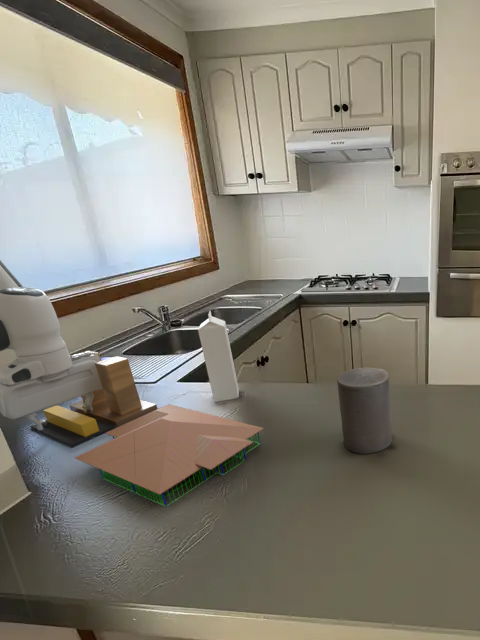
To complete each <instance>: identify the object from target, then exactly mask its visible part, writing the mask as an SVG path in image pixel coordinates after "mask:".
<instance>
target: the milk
mask: <svg viewBox="0 0 480 640" xmlns="http://www.w3.org/2000/svg"><path fill="white" fill-rule="evenodd" d="M207 316H208V318H207V319H206V320H204V321H203V322H201V323H200V324H199V326H198V329H197V332H198V337H199V340H200V345H201V348H202V349H201V350H202V354H203V358H204V359H203V360H204V363H205V368H206V372H207V376H208V381H209V386H210V389H211V394H212V398H213V402H214V403H219V402H223V401H229V400H236V399H239V397H240V396H239V395H240V388H239V383H238V379H237V374H236V367H235V365H234V364H235V362H234V359H233V354H232V349H231V348H232V347H231V343H230V339H229V333H228V328H227V323H226V320H224V319H221V318H218V317H215V316H212V312H211V310H209V312H208V314H207Z"/></svg>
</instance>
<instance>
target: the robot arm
mask: <svg viewBox="0 0 480 640" xmlns="http://www.w3.org/2000/svg"><path fill="white" fill-rule="evenodd" d="M6 350H13V351H14V353H15V356H16V358H15V359H14V360H12V361H11V362H9V363H7V364H5V365H4V366H2V367H0V414H1V415H2V416H3V417H5V418H7V419H10V420H17V419H20V418H22V417H25V418H27V419H28V420H30V421H31V422H33V423H34V425H36V427H37V429H38V430H43V429H45V428H48V425H46V424H47V423H46V420H45V419H43V418H42V419H37V418H36V417H38V414H37V412H39V411H42V410H45V409H48V408H51V407H53V406H56V405H60V404H62V403H65V402H68V401H71V400H73V399H76V398H77V399H78V398H80V397H81V396H85V397H86V400H85V404H83V405H81V406H82V408H83V412H86V413H88V412H90V411H93V408H92V405H91V404H92V402H93V399H94V393H93V392H94V391H97V390H100V389H103V387H102V384H101V381H100V378H99V375H98V372H97V369H96V366H95V363H96V362H99V361H100V358H101V357H100V358H99V356H98V355H97V354H96V353H93V352H94V351H93V352H90V351H91V350H87V351H88V352H85V351H83V352H84V353H82V352H81V353H82V354H78V353H76V354H77V355H75V354H72V355H73V356H71V354H70V352H69V349H68V345H67V343H66V341H65V340H64V338H63V336H62V335H61V325H60V321H59V318H58V316H57V312H56V310H55V308H54V306H53V304H52V301H51V300H50V298H49V297H48V295H47V294H46V293H45V292H44V291H43V290H41V289H39V288H35V287H32V286H31V287H30V286H23V285H22V283H21V282H19V280H18V278H16V276H15V275H14V274H13V272H11V271H10V270H9V269H8V267H7V266H6V265H5V263H4V262H3V261H2V260H1V259H0V352H3V351H6ZM91 354H94V355H91Z"/></svg>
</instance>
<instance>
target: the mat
mask: <svg viewBox="0 0 480 640" xmlns="http://www.w3.org/2000/svg"><path fill="white" fill-rule="evenodd" d="M45 421H46V423H47V424H46V425H48V428H45V429H43V430H38V429H37V427H36V424H33V425H30V426H29V427H30V429H31V430H33V431H35V432H38V433H39V434H42V435H44V436H46V437H49V438H51V439H53V440H56V441H57V442H60V443H62V444H64V445H66V446H69V447H71V448H74V447H76V446H79V445H82V444H83V443H86V442H89V441H90V440H93V439H95V438H97V437H99V436H102V435H103V434H104V435H105V433H106V432H108V431H111V430H113V429H115V428H116V427H115V426H112V425H110V424H107V423H104V422H101V421H99V420H96V422H97V425H98V428H99V431H98V432H96V433H93V434H91V435H89V436H87V437H84V436H82V435H79V434H77V433H74V432H72V431H70V430H67V429H65V428H62V427H60V426H57V425H55V424H53V423H50V422H48V421H47V419H46V420H45Z"/></svg>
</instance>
